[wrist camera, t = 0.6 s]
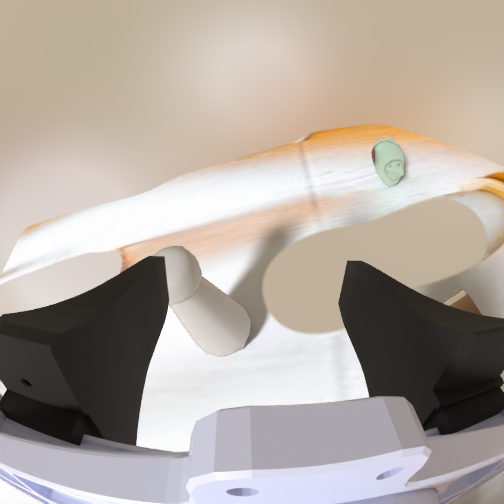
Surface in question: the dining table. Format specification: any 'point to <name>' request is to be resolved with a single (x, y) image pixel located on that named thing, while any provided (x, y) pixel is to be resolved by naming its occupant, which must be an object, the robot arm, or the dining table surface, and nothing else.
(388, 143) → the green seashell
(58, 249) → the dining table surface
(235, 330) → the salt shaker
